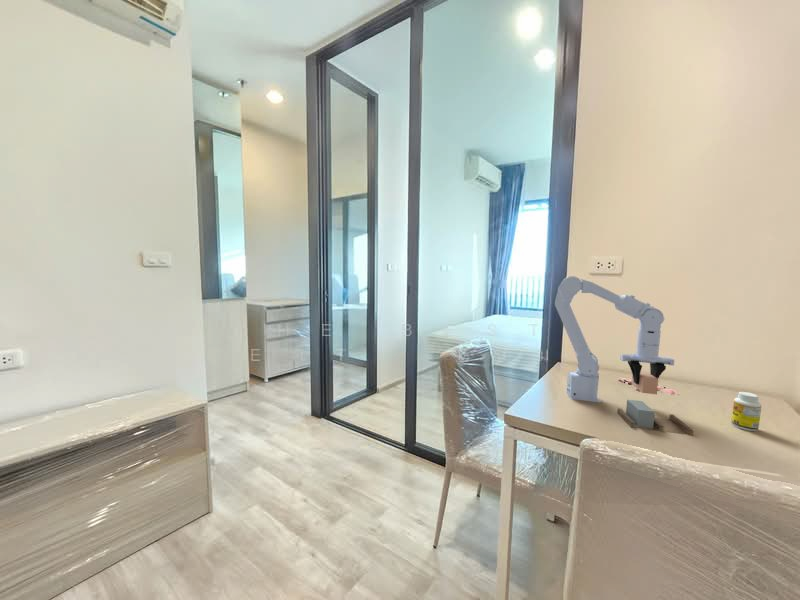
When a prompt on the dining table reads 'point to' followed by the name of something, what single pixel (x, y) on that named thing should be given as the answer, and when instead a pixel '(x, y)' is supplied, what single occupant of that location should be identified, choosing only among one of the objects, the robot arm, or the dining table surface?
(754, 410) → the supplement bottle
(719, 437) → the dining table surface
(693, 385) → the dining table surface
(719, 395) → the dining table surface
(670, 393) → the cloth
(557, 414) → the dining table surface
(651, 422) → the slate block
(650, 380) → the plug block
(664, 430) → the comb rack
